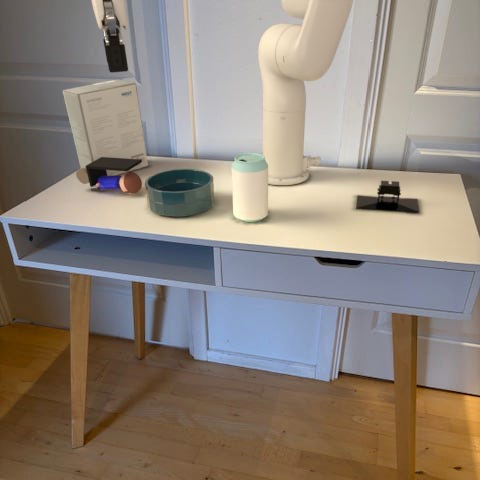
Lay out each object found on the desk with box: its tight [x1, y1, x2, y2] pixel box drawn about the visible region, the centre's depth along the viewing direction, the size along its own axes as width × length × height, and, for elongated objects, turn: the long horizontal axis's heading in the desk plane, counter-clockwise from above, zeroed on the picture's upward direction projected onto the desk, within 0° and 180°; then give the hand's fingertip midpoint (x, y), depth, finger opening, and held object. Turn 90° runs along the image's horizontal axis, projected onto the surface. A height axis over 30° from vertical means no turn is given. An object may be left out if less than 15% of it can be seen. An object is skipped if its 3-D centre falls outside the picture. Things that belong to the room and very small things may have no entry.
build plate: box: [355, 180, 420, 215], centre depth 101 cm, size 12×7×5 cm, turn 76°
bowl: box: [144, 168, 216, 217], centre depth 104 cm, size 14×14×6 cm
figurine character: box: [75, 157, 143, 195], centre depth 112 cm, size 7×8×15 cm
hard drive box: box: [62, 78, 149, 176], centre depth 120 cm, size 16×8×20 cm, turn 133°
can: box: [231, 152, 269, 223], centre depth 97 cm, size 7×7×12 cm
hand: (117, 67), depth 88 cm, fingers open, 9 cm apart
